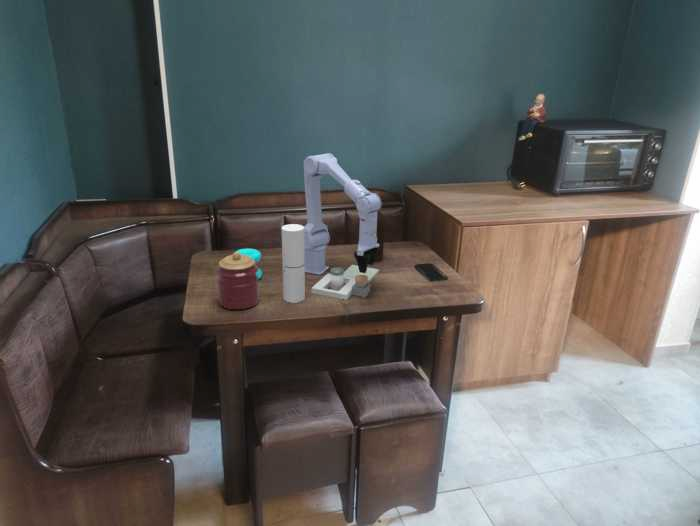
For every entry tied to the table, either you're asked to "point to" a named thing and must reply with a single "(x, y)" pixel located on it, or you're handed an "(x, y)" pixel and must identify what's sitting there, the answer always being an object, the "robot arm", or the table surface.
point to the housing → (344, 292)
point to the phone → (430, 272)
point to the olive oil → (379, 235)
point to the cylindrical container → (293, 263)
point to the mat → (354, 271)
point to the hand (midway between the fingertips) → (366, 268)
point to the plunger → (361, 281)
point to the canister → (238, 281)
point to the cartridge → (337, 278)
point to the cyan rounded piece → (253, 254)
